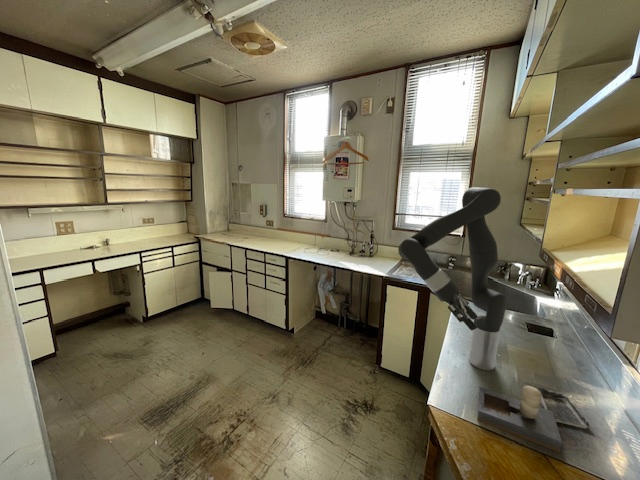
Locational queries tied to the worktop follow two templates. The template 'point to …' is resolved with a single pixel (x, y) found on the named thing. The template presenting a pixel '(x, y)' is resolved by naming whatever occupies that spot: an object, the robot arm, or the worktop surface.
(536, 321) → the worktop surface
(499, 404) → the keyhole board
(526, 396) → the keyhole peg
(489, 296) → the robot arm
